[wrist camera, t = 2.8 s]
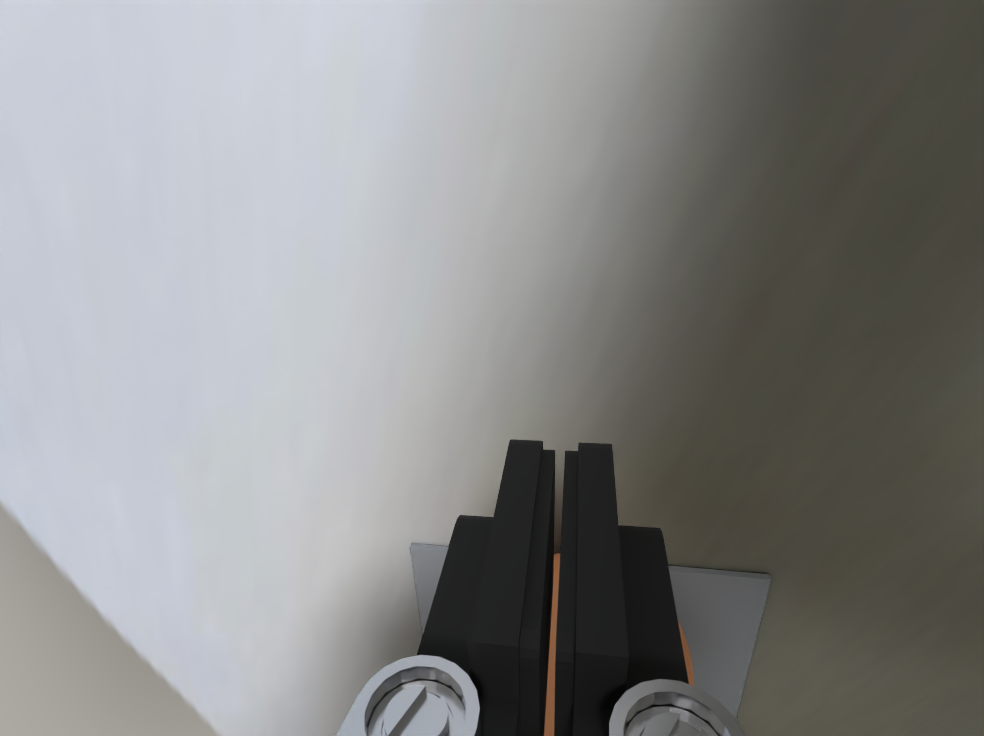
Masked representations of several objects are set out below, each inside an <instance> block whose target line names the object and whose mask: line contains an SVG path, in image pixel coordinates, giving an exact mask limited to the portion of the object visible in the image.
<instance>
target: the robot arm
mask: <svg viewBox="0 0 984 736" xmlns="http://www.w3.org/2000/svg"><path fill="white" fill-rule="evenodd" d="M554 504H555V450H543V441H532V440H510V442H509V446H508V451H507V456H506V460H505V465H504V470H503V475H502V480H501V484H500V489H499V494H498V499H497V504H496V508H495V513H494V517H481V516H465V515H460V516H459V517H458V518H457V521H456V524H455V527H454V530H453V534H452V537H451V540H450V544H449V547H448V551H447V554H446V558H445V561H444V564H443V568H442V571H441V575H440V578H439V581H438V585H437V588H436V592H435V595H434V599H433V602H432V605H431V609H430V612H429V616H428V619H427V622H426V626H425V629H424V633H423V636H422V640H421V643H420V646H419V650H418V653H417V656H412V657H407V658H402V659H400V660H398V661H395V662H393V663H391V664H389V665H387V666H385V667H384V668H382V669H381V670H380V671H379V672H377V673H376V674H375V675H374V676H373V677H371V678H370V679H369V680H368V682H367V683H366V685H365V686H364V687H363V689H362V690H361V692H360V693H359V694H358V696H357V698H356V699H355V701H354V703H353V705H352V707H351V709H350V711H349V713H348V714H347V716H346V718H345V720H344V722H343V724H342V726H341V728H340V729H339V731H338V733H337V735H336V736H544V730H545V713H546V697H547V680H548V664H549V648H550V631H551V615H552V598H553V576H554ZM554 736H745V734H744V732H743V731H742V729H741V727H740V725H739V723H738V722H737V720H736V718H735V717H734V716H733V715H732V714H731V713H730V712H729V711H728V710H727V709H726V708H725V707H724V706H723V704H722V703H721V702H720V701H718V700H717V699H715V698H714V697H712V696H711V695H709V694H708V693H706V692H705V691H703V690H702V689H700V688H697V687H695V686H692V685H689V681H688V675H687V669H686V664H685V658H684V652H683V647H682V641H681V635H680V630H679V624H678V618H677V613H676V607H675V601H674V596H673V590H672V584H671V579H670V573H669V567H668V562H667V556H666V550H665V545H664V539H663V535H662V531H661V529H660V528H649V527H634V526H618V515H617V502H616V489H615V477H614V464H613V451H612V444H597V443H579V446H578V451H565V469H564V489H563V509H562V529H561V549H560V569H559V589H558V609H557V629H556V657H555V713H554Z"/></svg>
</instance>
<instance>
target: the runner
mask: <svg viewBox="0 0 984 736" xmlns="http://www.w3.org/2000/svg"><path fill="white" fill-rule="evenodd" d="M448 547H449V546H437V545H426V544H414V543H412V544H411V546H410V552H411V559H412V566H413V573H414V580H415V587H416V593H417V600H418V607H419V614H420V621H421V628H422V635H423V633H424V629H425V626H426V622H427V619H428V616H429V612H430V609H431V605H432V602H433V599H434V595H435V592H436V588H437V585H438V581H439V578H440V575H441V571H442V568H443V564H444V561H445V558H446V554H447V551H448ZM668 567H669V573H670V579H671V584H672V590H673V596H674V601H675V607H676V613H677V618H678V622H679V623H680V625H681V628H682V630H683V633H684V635H685V638H686V641H687V644H688V647H689V651H690V655H691V659H692V666H693V675H694V686H695V687H697V688H700V689H702V690H703V691H705V692H706V693H708V694H709V695H711V696H712V697H714V698H715V699H717V700H718V701H720V702H721V703H722V704H723V706H724V707H725V708H726V709H727V710H728V711H729V712H730V713H731V714H732V715H733V716H734V717H735V718H736V717H737V713H738V709H739V705H740V701H741V697H742V693H743V689H744V686H745V682H746V678H747V674H748V670H749V666H750V662H751V658H752V654H753V650H754V646H755V642H756V638H757V634H758V630H759V626H760V623H761V619H762V615H763V611H764V607H765V603H766V599H767V595H768V591H769V587H770V583H771V577H770V574H760V573H748V572H737V571H725V570H714V569H702V568H691V567H679V566H668Z"/></svg>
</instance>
